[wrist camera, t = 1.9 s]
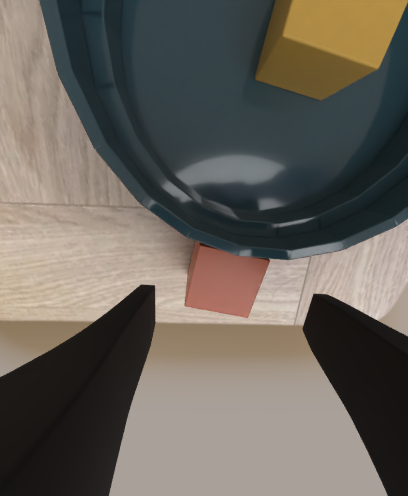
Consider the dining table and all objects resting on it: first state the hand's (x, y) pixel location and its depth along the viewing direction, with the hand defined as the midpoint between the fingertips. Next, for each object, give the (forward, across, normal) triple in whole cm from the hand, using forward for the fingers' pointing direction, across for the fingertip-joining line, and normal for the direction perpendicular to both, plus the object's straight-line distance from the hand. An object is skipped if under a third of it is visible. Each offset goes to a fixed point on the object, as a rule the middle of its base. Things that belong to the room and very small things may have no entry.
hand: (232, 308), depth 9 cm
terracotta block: (+6, 0, 0) cm, 7 cm away
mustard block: (+6, -3, -12) cm, 14 cm away
